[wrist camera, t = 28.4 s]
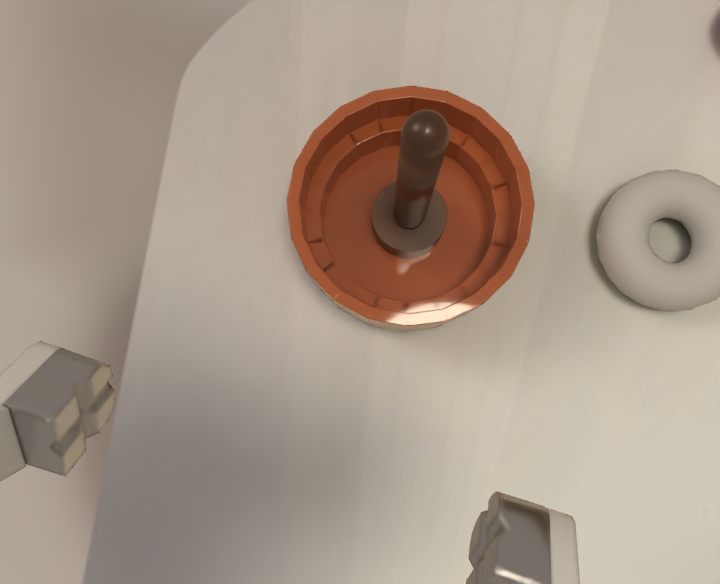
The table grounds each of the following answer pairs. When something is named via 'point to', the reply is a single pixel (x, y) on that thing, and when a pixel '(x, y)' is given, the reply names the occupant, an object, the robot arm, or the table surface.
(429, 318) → the bowl
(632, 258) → the donut
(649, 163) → the table surface
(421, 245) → the wooden tamper
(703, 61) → the table surface
